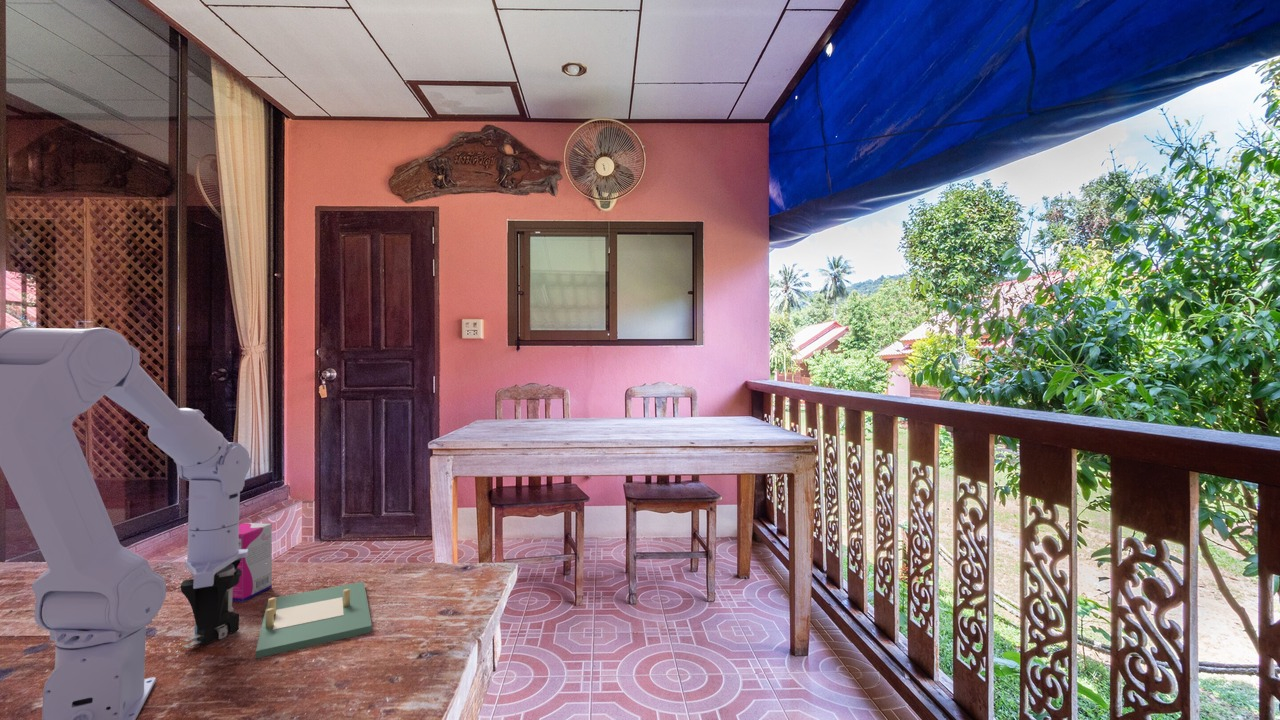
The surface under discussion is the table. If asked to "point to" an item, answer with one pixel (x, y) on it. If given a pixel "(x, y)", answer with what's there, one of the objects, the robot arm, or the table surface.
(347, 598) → the board
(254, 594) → the supplement box
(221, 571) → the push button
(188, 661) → the table surface
